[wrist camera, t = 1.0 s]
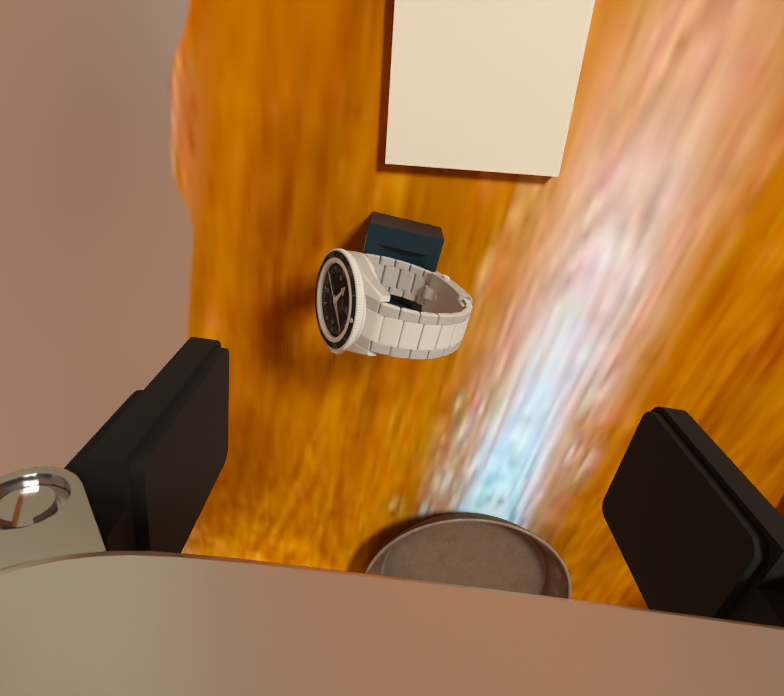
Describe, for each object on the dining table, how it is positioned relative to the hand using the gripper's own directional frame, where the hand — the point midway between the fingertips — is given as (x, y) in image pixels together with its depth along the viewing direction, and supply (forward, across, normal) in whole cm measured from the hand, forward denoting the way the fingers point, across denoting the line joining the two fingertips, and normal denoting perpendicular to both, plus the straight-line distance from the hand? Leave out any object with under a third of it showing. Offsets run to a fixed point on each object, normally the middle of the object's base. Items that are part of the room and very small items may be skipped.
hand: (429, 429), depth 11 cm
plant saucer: (+22, -10, +30) cm, 39 cm away
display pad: (+22, -2, -10) cm, 24 cm away
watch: (+22, +1, +3) cm, 22 cm away
